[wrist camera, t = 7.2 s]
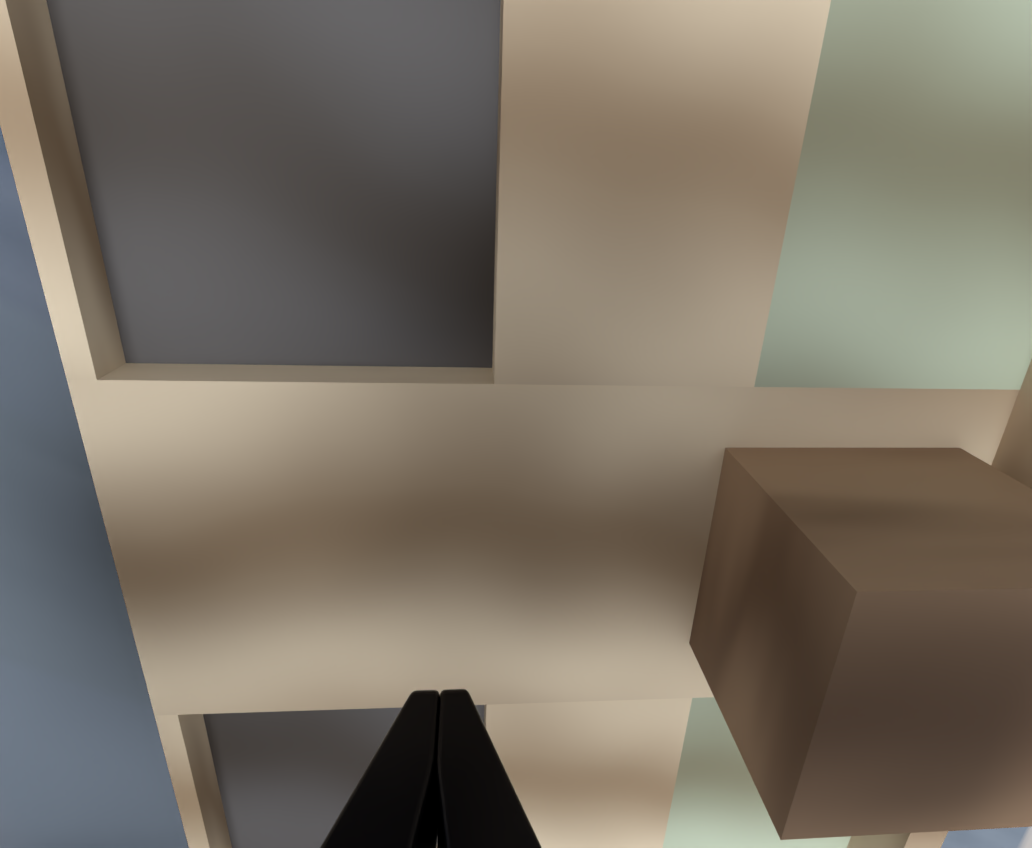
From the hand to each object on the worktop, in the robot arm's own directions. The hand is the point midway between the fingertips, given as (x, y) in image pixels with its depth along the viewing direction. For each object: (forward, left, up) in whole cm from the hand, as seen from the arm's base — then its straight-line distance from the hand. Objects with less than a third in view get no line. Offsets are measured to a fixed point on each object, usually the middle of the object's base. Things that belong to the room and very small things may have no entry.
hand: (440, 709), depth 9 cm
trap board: (0, -3, -5) cm, 6 cm away
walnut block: (0, -8, -4) cm, 9 cm away
